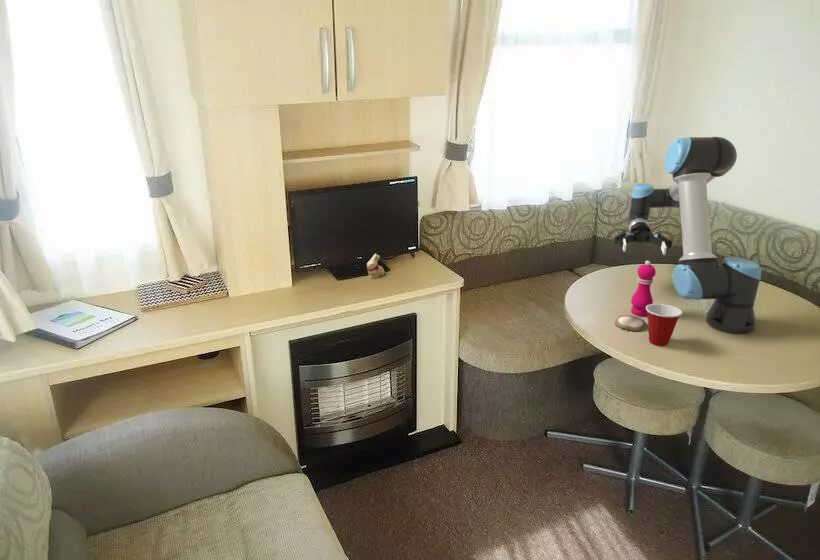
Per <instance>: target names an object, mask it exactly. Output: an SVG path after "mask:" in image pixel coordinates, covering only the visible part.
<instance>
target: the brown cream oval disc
mask: <svg viewBox="0 0 820 560" xmlns="http://www.w3.org/2000/svg"><path fill="white" fill-rule="evenodd" d="M614 325H615V326H616V327H617V328H618V327H619V328H618V329H620V328H621V330H622V329H623V330H622V331H625V330H627V331H626V332H631V331H632V333H635V332H636V331H639V332H642V331H644V330H646V326H647V322H646V321H645V320H644V319H643V318H641V317H639V316H636V315H620V316H617V317H615V319H614ZM636 333H637V332H636Z"/></svg>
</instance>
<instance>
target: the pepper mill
mask: <svg viewBox="0 0 820 560" xmlns="http://www.w3.org/2000/svg"><path fill="white" fill-rule="evenodd" d="M636 272H637V273H636V274H637V275H638V276H637V280H636V281H637V282H638V285H637V288H636V290H635V292H634V293H633V295H632V296H631V300H630V303H631V305H632V306H631V307H630V313H631V314H632V315H633V316H635V317H640V318H641V317H643V318H644V317H648V314H647V310H646V306H648V305H650V304H654V301H653V296H652V294H651V285H652V284H653V281H654V279H653V278H654V277H655V276H656V272H657V271H656V268H655V267H654V266H653V265H651V261H650V260H646V261H645V262H644V264H641V265H639V266H638V268H637V271H636Z"/></svg>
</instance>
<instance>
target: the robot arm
mask: <svg viewBox="0 0 820 560" xmlns="http://www.w3.org/2000/svg"><path fill="white" fill-rule="evenodd" d="M737 157H738V153H737V150H736V147H735V145H734V144H733V143H732V142H731V141H730V140H728V139H727V138H724V137H721V136H712V137H711V136H709V137H708V136H707V137H706V136H702V137H697V136H695V137H694V136H693V137H692V136H691V137H690V136H686V137H680V138H679V137H678V138H675V139H674V140H671V142H670V143H669V145H668V147H667V148H666V152H665V154H664V158H663V159H664V161H663V163H664V164H663V165H664V169H665V171H666V173H668V174H670V175H672V181H673V182H674V183H673V185H671V186H670V187H669V188H654V186H653V185H652V184H650V183H643V182H642V183H641V182H640V183H635V184H634V186H633V188H632V192H631V198H630V199H631V200H630V207H629V208H630V209H629V213H628V216H627V220H626V223H627V226H628V231H629V232H628V231H627V230H622V232H621V233H619V234H617V235H615V236H614V239H613V244H615V245H618V247H620V248H622V251H623V252H626V251H627V244H629V243H638V244H639V243H640V244H641V243H648V244H653V245H656V246H658V247H660V249H661V252H662V255H663V256H666V252H667V251H668V250H669V249H672V248H673V247H672V246H673V240H671V239H669V238H667V237H666V236H664V235H662V233H661V232H660V233H659V232H657V233H656V234H653V233H652V230H651V227H650V224H649V218H650V213H651V209H664V208H665V209H667V208H668V209H670V208H671V209H672V208H677V209H678V208H679V212H680V213H679V214H680V227H681V241H682V256H681V257H680V258H679V259H678V264H677V265H675V267H674V268H673V270H672V271H673V272H672V276H671V277H672V283H673V287H674V290H675V291H676V293H677V294H678V295H679V296H680V298H682V299H685V300H694V301H700V300H712V299H713V300H714V301H713V303H712V305H711V306H710V308H709V309H708V311H707V313H706V315H705V322H706V323H707V325H709V326H710V327H712V328H713V329H715V330H718V331H721V332H724V333H729V334H736V335H738V334H739V335H745V334H750V333H752V332H754V331H755V328H756V323H757V321H756V315H755V308H754V306H755V302H756V298H757V293H758V289H759V285H760V281H761V280H762V278H761V275H762V268H761V266H760V264H759V263H756V262H754V261H752V260H750V259H746V258H743V257H739V256H729V255H728V256H726V257H724V258H723V260H722V262H721V263H719V262H718V257H717V256H716V254H714V253H713V252H712V238H711V237H712V236H711V226H710V215H709V213H710V211H709V202H708V200H709V199H708V187H707V186H708V183H710V182H711V181H713V180H714V179H716V178H720V177H723V176H725V174H727V173H729V172H730V171H731V170H732V169H733V167H734V166H735V164H736V162H737Z"/></svg>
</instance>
